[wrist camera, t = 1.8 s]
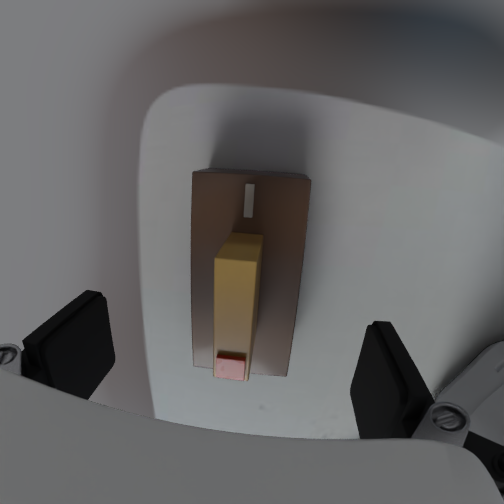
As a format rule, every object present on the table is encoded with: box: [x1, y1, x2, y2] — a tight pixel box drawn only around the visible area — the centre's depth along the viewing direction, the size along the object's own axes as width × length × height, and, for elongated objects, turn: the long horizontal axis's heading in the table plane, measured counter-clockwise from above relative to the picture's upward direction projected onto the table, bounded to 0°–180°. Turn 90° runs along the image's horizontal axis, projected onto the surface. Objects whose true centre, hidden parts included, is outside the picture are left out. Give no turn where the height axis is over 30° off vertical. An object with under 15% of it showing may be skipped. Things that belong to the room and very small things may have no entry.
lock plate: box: [191, 168, 311, 377], centre depth 16 cm, size 10×5×3 cm, turn 176°
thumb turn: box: [213, 232, 263, 381], centre depth 13 cm, size 5×1×4 cm, turn 176°
